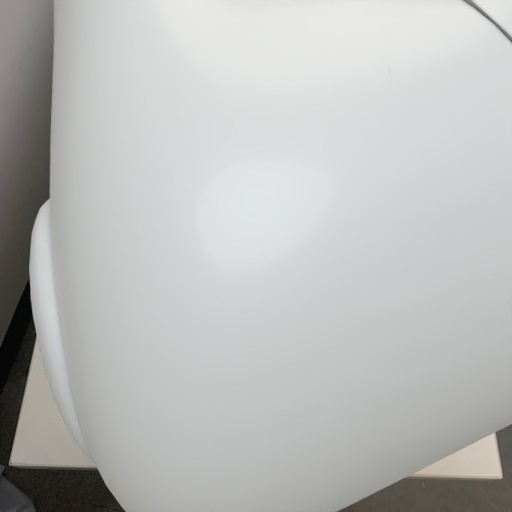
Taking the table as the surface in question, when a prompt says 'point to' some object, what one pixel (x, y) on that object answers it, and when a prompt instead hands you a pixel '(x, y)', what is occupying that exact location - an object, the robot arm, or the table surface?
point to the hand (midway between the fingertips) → (224, 311)
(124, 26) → the robot arm
